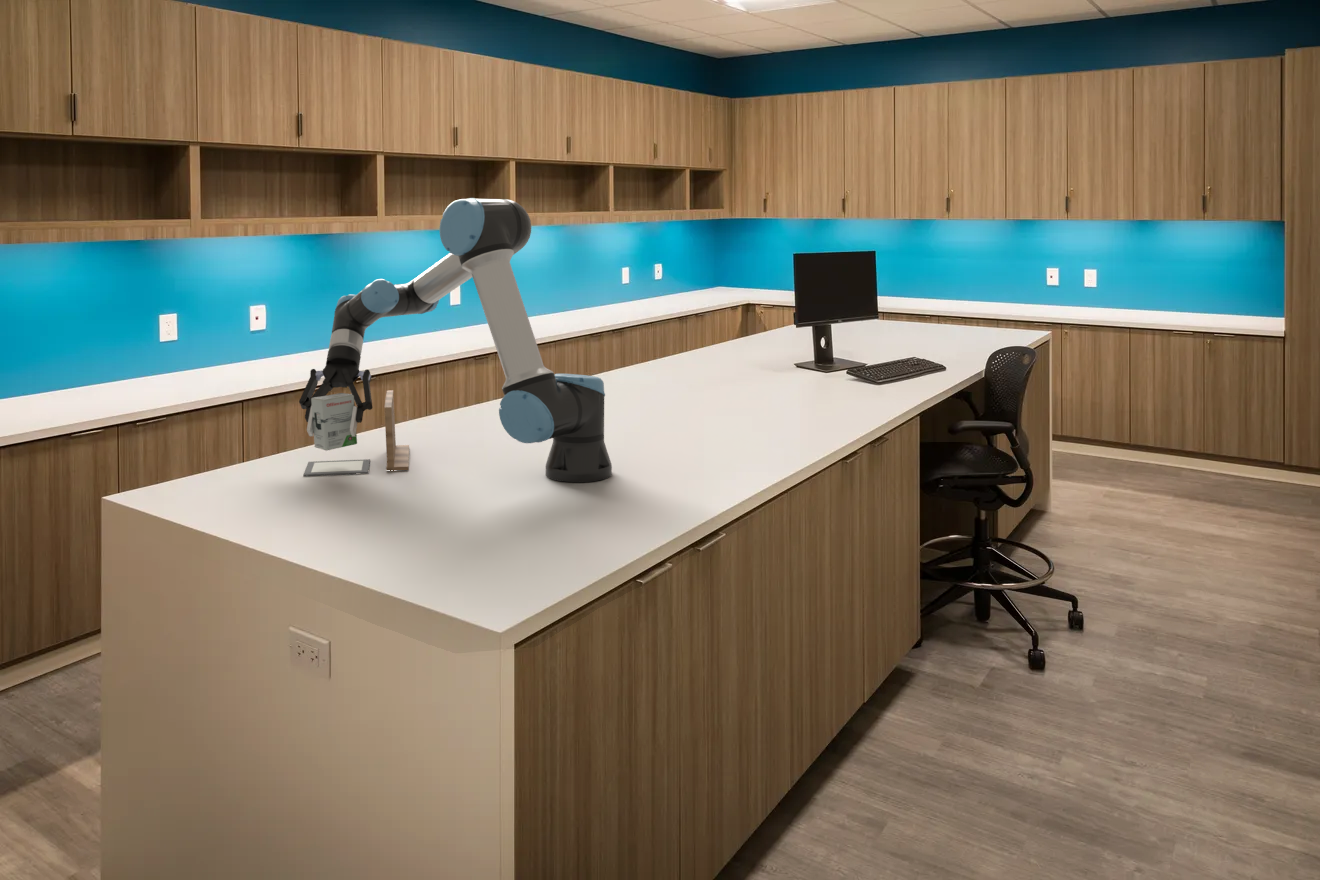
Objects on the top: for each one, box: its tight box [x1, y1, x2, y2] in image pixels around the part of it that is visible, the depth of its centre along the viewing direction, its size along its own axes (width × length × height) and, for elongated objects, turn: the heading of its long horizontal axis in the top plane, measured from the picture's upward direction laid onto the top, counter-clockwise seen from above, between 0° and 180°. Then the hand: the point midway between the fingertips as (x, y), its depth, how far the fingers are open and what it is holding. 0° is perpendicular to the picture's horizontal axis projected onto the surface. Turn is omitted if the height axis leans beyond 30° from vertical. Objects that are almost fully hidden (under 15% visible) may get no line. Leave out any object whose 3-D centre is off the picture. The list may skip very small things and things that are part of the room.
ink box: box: [311, 392, 358, 452], centre depth 238 cm, size 9×5×12 cm, turn 141°
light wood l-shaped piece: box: [383, 389, 410, 472], centre depth 248 cm, size 22×5×15 cm, turn 13°
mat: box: [303, 458, 371, 477], centre depth 241 cm, size 12×14×1 cm
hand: (331, 433), depth 236 cm, fingers closed on ink box, 9 cm apart
